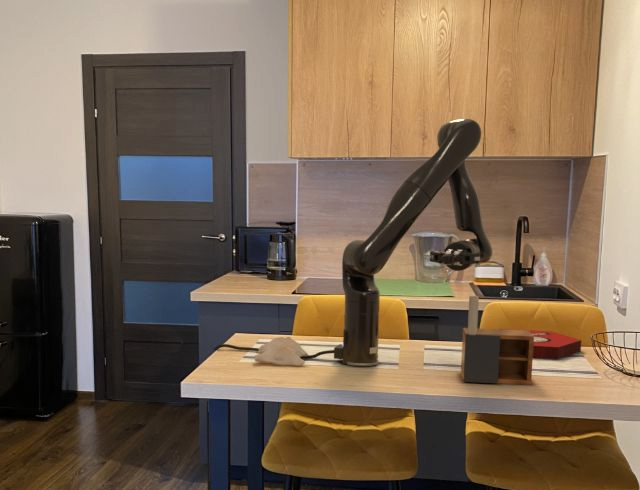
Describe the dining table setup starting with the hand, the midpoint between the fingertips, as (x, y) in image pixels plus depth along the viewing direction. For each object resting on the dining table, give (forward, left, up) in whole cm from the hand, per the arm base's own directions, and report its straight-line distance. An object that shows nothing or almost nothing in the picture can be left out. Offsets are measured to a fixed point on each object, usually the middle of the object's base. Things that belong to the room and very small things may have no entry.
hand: (447, 260), depth 176 cm
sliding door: (+9, +1, -30) cm, 31 cm away
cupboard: (+13, +6, -30) cm, 33 cm away
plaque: (+27, +47, -30) cm, 62 cm away
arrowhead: (-43, +24, -30) cm, 57 cm away
